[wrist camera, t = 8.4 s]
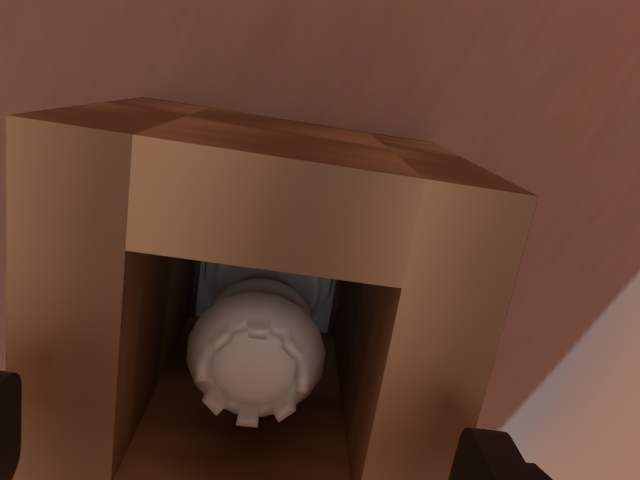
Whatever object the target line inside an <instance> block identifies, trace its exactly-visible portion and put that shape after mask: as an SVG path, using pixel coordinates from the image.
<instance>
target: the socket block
mask: <svg viewBox="0 0 640 480" xmlns="http://www.w3.org/2000/svg"><path fill="white" fill-rule="evenodd" d="M537 199H538V196H537V195H535V194H533V193H531V192H529V191H527V190H525V189H523V188H521V187H519V186H517V185H515V184H513V183H511V182H509V181H507V180H505V179H503V178H501V177H499V176H497V175H495V174H493V173H491V172H489V171H487V170H485V169H483V168H481V167H479V166H477V165H475V164H473V163H471V162H469V161H467V160H465V159H463V158H461V157H459V156H457V155H455V154H453V153H452V152H450V151H448V150H446V149H444V148H442V147H440V146H438V145H436V144H434V143H430V142H424V141H417V140H411V139H405V138H398V137H392V136H386V135H379V134H373V133H366V132H360V131H354V130H347V129H341V128H335V127H328V126H322V125H316V124H309V123H303V122H297V121H290V120H284V119H278V118H271V117H265V116H259V115H252V114H246V113H240V112H233V111H227V110H221V109H214V108H208V107H202V106H195V105H189V104H183V103H176V102H170V101H164V100H157V99H151V98H144V97H140V98H133V99H125V100H118V101H110V102H103V103H95V104H87V105H80V106H72V107H65V108H57V109H50V110H42V111H34V112H27V113H19V114H12V115H6V371H7V372H15V373H18V374H19V376H20V378H21V382H22V415H21V453H20V459H19V463H18V466H17V469H16V472H15V474H14V477H13V479H12V480H448V479H449V475H450V471H451V467H452V464H453V460H454V456H455V452H456V448H457V445H458V441H459V437H460V435H461V432H462V431H463V429H464V428H466V427H469V428H476V424H477V420H478V417H479V413H480V409H481V406H482V402H483V398H484V395H485V391H486V387H487V384H488V380H489V376H490V373H491V369H492V365H493V362H494V358H495V354H496V350H497V347H498V343H499V339H500V336H501V332H502V328H503V325H504V321H505V317H506V314H507V310H508V306H509V303H510V299H511V295H512V292H513V288H514V284H515V280H516V277H517V273H518V269H519V266H520V262H521V258H522V255H523V251H524V247H525V244H526V240H527V236H528V233H529V229H530V225H531V222H532V218H533V214H534V210H535V207H536V203H537ZM195 260H198V261H205V262H212V263H220V264H227V265H234V266H242V267H249V268H256V269H263V270H271V271H278V272H285V273H293V274H300V275H307V276H315V277H322V278H329V279H337V280H343V282H342V288H341V293H340V299H339V305H338V310H337V316H336V321H335V327H334V332H333V335H328V334H321V333H320V334H321V337H322V341H323V344H324V348H325V351H326V353H325V359H324V365H323V372H322V376H321V378H320V379H319V381H318V383H317V384H316V386H315V387H314V389H313V390H312V392H311V393H310V395H309V396H308V397H307V398H305V399H304V400H302V401H301V402H300V403H298V404H297V405H296V411H295V412H294V413H292V414H291V415H289V416H288V417H286V418H285V419H283V420H282V421H280V422H278V420H277V419H276V417H275V415H274V414H272V415H268V416H264V417H259V421H258V428H256V427H246V426H236V422H237V416H238V414H234V413H232V412H230V411H228V410H226V409H224V408H223V410H222V411H221V412H220V413H219V414H218V415H217V416H216V415H215V414H214V413H213V412H212V411H211V410H210V409H209V408H208V407H207V406H206V405H205V404H204V403H203V402H202V399H203V395H204V394H203V393H202V392H201V391H200V390H199V388H198V387H197V386H196V385H195V384H194V381H193V378H192V376H191V373H190V370H189V367H188V365H187V362H186V357H187V345H188V336H189V334H190V333H191V331H192V329H193V327H194V326H195V324H196V322H197V320H198V319H199V318H197V317H189V312H190V302H191V292H192V282H193V272H194V262H195Z"/></svg>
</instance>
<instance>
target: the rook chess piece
mask: <svg viewBox="0 0 640 480" xmlns="http://www.w3.org/2000/svg"><path fill="white" fill-rule="evenodd" d="M204 280H205V283H206V286H207V288H208V291H209V294H210V297H211V300H212V303H213V305H212V307H210V308H209V309H208V310H206V311H205V312H204V313H202V314H201V315H200V317H199V319H198V320H197V322H196V324H195V326H194V327H193V329H192V331H191V333H190V334H189V336H188V345H187V357H186V362H187V365H188V367H189V370H190V373H191V376H192V378H193V381H194V384H195V385H196V386H197V387H198V388H199V390H200V391H201V392H202V393H203V394H204V395H203V399H202V402H203V403H204V404H205V405H206V406H207V407H208V408H209V409H210V410H211V411H212V412H213V413H214V414H215V415H216V416H217V415H218V414H219V413H220V412H221V411H222V410H223V408H224V409H226V410H228V411H230V412H232V413H234V414H238V416H237V422H236V426H246V427H256V428H258V421H259V417H264V416H268V415H272V414H274V415H275V417H276V419H277V420H278V422H280V421H282V420H283V419H285V418H286V417H288V416H289V415H291V414H292V413H294V412H295V411H296V405H297V404H298V403H300V402H301V401H302V400H304V399H305V398H307V397H308V396H309V395H310V393H311V392H312V390H313V389H314V387H315V386H316V384H317V383H318V381H319V379H320V378H321V376H322V372H323V365H324V359H325V353H326V351H325V348H324V344H323V341H322V337H321V334H320V330H319V328H318V326H317V325H316V324H315V323H314V322H313V318H314V317H315V316H316V315H317V314H318V312H319V310H320V309H321V307H322V306H323V304H324V303H325V301H326V299H327V298H328V296H329V295H330V292H331V285H332V279H329V278H322V277H315V276H307V275H300V274H293V273H285V272H278V271H271V270H263V269H256V268H249V267H242V266H234V265H227V264H220V263H212V262H206V263H205V274H204Z"/></svg>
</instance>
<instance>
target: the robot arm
mask: <svg viewBox="0 0 640 480" xmlns="http://www.w3.org/2000/svg"><path fill="white" fill-rule="evenodd" d="M21 415H22V382H21V378H20V376H19V374H18V373H15V372H7V371H0V480H12V479H13V477H14V474H15V472H16V469H17V466H18V463H19V459H20V453H21ZM448 480H552V479H551V478H550V477H549V476H548V475H547V474H546V473H545V472H544V471H542V470H541V469H540V468H539V467H538V466H537V465H536V464H534V463H526V462H525V460H524V459H523V458H522V455H521V454H520V452H519V450H518V448H517V447H516V445H515V443H514V442H513V440H512V438H511V437H510V435H509V434H508V433H507V432H502V431H494V430H486V429H477V428H469V427H466V428H464V429H463V431H462V432H461V435H460V437H459V441H458V445H457V448H456V452H455V456H454V460H453V464H452V467H451V471H450V475H449V479H448Z"/></svg>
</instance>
